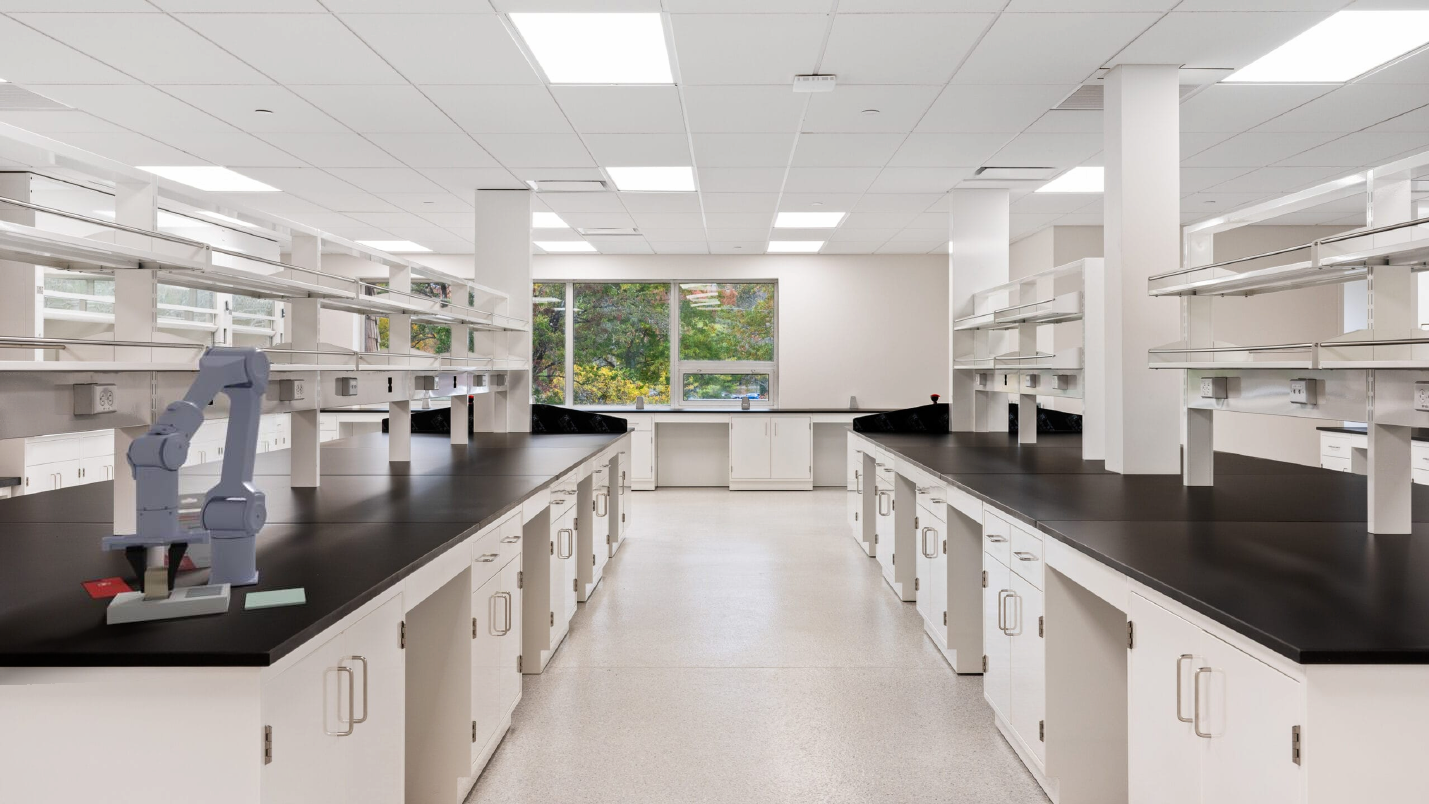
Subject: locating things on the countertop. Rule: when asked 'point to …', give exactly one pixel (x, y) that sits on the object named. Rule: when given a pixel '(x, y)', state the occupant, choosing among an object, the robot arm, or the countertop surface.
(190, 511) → the ink cartridge box
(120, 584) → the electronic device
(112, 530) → the countertop surface
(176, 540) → the robot arm
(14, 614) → the countertop surface
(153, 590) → the plug
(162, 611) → the white slotted tray
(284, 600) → the mat
